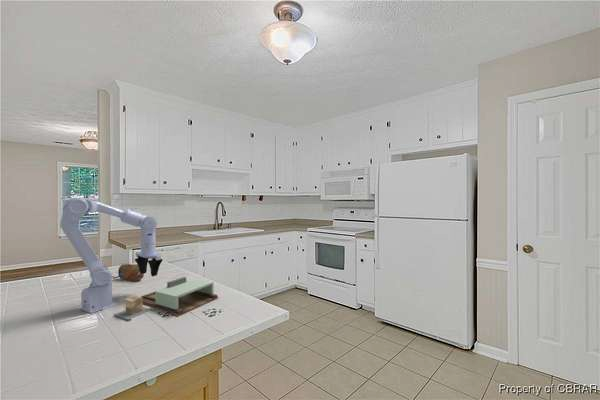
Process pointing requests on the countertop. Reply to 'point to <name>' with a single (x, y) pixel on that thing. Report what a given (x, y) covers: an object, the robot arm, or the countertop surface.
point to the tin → (130, 272)
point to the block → (134, 305)
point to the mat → (129, 316)
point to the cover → (181, 291)
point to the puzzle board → (181, 302)
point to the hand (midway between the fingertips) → (148, 274)
